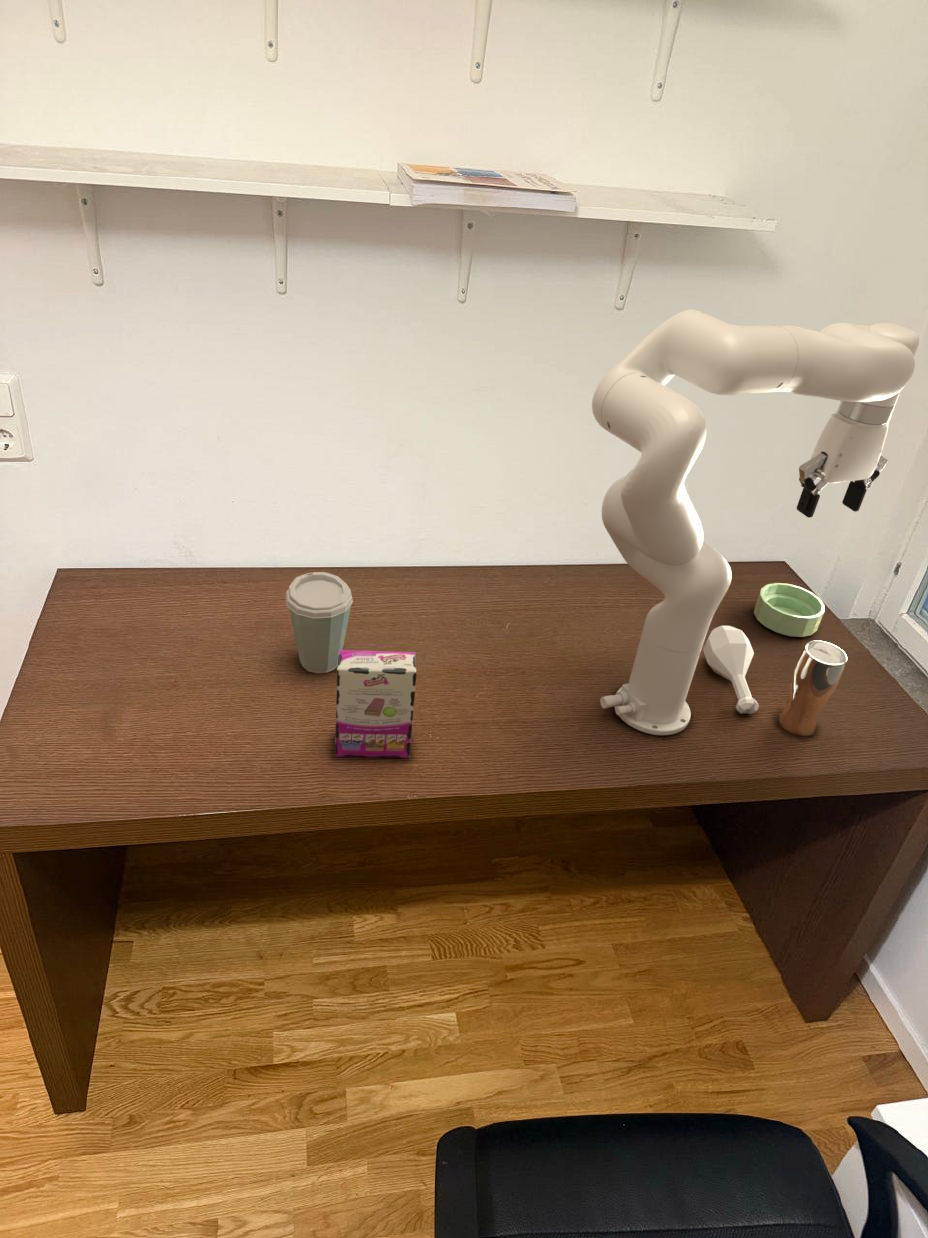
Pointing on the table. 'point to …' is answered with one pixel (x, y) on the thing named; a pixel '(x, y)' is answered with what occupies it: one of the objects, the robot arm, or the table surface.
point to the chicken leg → (732, 662)
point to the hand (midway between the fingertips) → (827, 510)
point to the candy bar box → (374, 703)
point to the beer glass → (812, 686)
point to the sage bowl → (789, 609)
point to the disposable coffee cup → (319, 618)
